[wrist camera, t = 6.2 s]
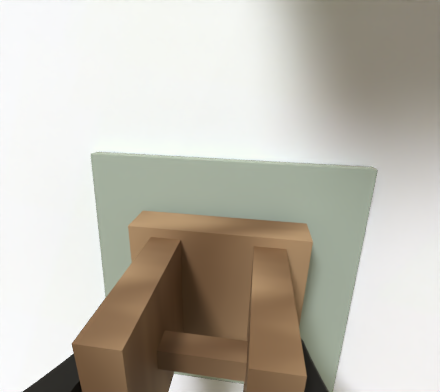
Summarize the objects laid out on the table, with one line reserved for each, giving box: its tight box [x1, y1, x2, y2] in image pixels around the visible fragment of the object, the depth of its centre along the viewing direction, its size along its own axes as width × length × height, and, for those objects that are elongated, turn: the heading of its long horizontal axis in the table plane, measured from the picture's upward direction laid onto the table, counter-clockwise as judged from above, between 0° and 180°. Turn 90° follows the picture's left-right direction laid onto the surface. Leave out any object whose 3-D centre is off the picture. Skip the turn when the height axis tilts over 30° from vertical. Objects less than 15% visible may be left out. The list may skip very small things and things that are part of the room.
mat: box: [91, 152, 378, 392], centre depth 14 cm, size 12×12×1 cm
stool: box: [72, 211, 313, 392], centre depth 10 cm, size 7×6×6 cm
